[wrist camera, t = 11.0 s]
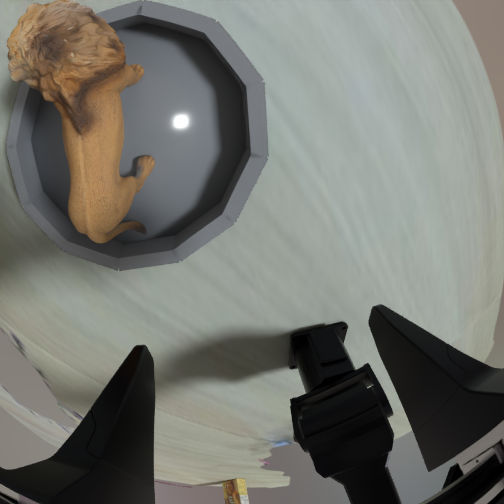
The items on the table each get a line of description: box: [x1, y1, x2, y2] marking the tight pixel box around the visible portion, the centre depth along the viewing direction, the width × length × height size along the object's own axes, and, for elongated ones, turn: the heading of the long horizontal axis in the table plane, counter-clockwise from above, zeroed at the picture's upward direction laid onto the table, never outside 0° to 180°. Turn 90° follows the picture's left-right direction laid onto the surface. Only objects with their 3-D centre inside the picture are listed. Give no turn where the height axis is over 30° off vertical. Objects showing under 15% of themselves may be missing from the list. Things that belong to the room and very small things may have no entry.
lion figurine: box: [7, 0, 155, 243], centre depth 11 cm, size 15×5×9 cm, turn 9°
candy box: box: [222, 479, 249, 504], centre depth 67 cm, size 9×4×15 cm, turn 139°
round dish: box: [6, 0, 269, 271], centre depth 14 cm, size 17×17×3 cm
